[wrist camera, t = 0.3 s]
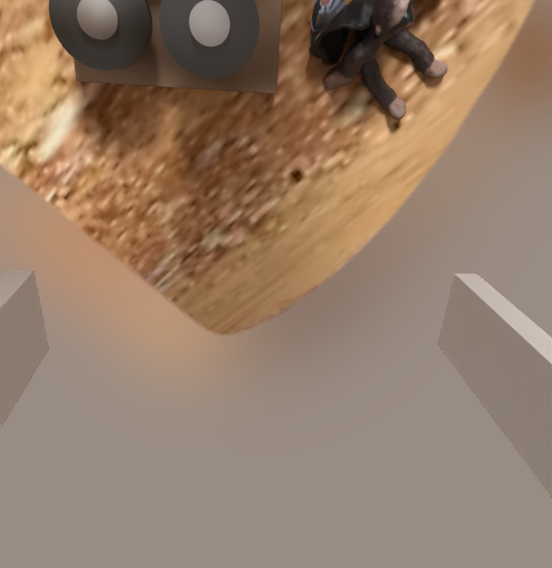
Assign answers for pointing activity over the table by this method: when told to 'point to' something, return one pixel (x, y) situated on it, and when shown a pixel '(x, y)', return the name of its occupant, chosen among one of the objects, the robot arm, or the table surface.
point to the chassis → (153, 46)
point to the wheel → (210, 34)
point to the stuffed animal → (368, 44)
